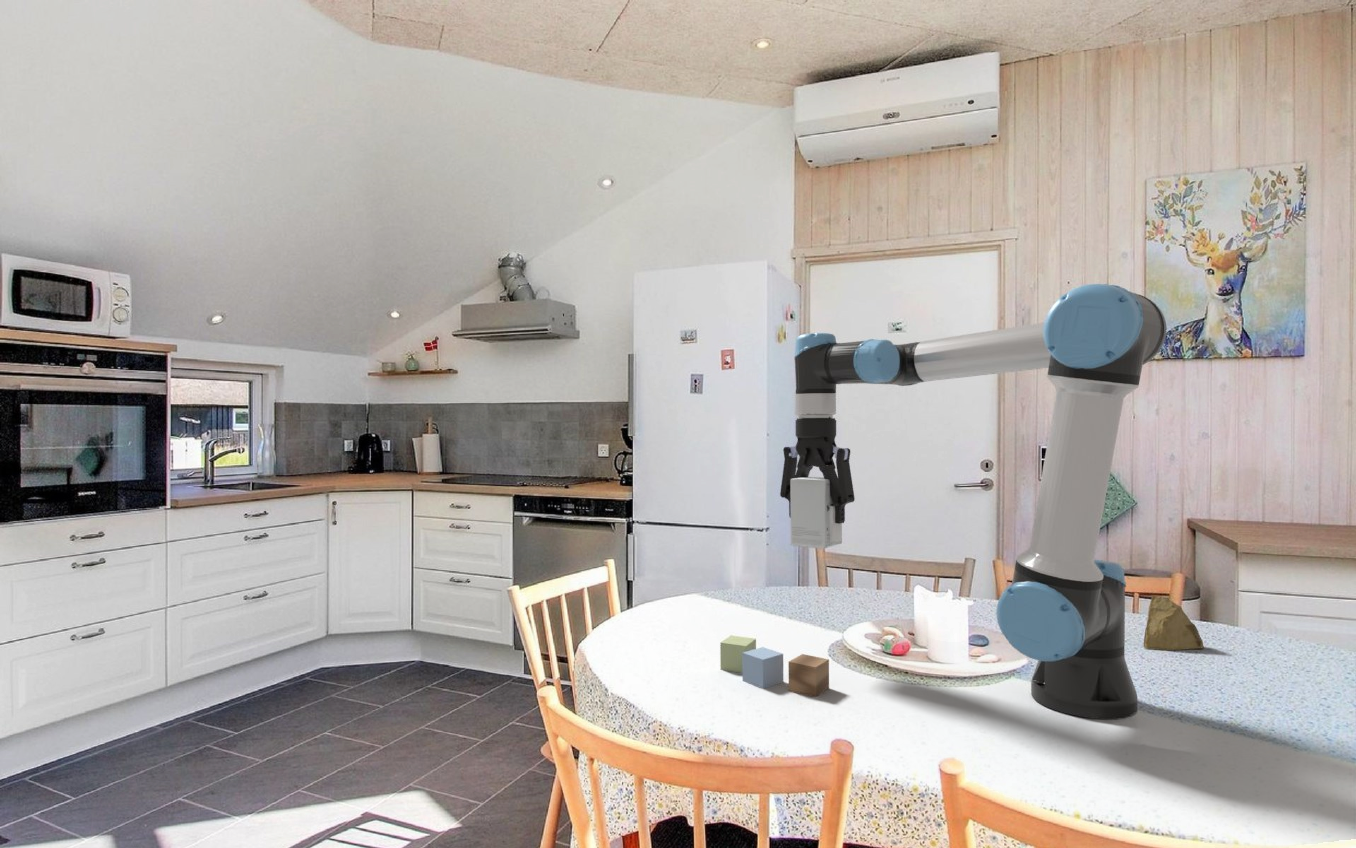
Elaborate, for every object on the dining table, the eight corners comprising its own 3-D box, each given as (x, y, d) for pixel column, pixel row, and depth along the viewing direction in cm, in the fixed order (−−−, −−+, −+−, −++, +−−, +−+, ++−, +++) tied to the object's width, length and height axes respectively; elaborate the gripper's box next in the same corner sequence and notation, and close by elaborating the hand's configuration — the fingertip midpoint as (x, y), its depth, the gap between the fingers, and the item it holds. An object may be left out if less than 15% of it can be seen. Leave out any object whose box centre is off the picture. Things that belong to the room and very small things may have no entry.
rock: (1206, 632, 154) (1149, 618, 160) (1211, 604, 149) (1152, 591, 155) (1199, 676, 148) (1139, 659, 154) (1204, 648, 143) (1142, 632, 149)
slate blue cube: (783, 682, 134) (783, 653, 134) (762, 689, 131) (762, 659, 130) (762, 675, 138) (762, 647, 137) (742, 681, 134) (742, 652, 134)
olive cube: (756, 665, 143) (755, 638, 143) (746, 673, 138) (745, 646, 138) (731, 661, 145) (731, 635, 145) (720, 669, 140) (720, 642, 140)
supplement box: (825, 549, 139) (825, 479, 139) (789, 545, 144) (788, 478, 144) (843, 544, 145) (842, 477, 145) (808, 540, 150) (807, 475, 149)
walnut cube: (829, 688, 130) (828, 659, 130) (815, 697, 126) (815, 667, 126) (802, 682, 133) (802, 654, 133) (788, 691, 129) (788, 661, 129)
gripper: (875, 416, 139) (875, 542, 139) (784, 416, 154) (785, 530, 154) (851, 416, 134) (852, 547, 134) (760, 417, 149) (761, 534, 149)
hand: (816, 538), depth 144 cm, fingers closed on supplement box, 8 cm apart
